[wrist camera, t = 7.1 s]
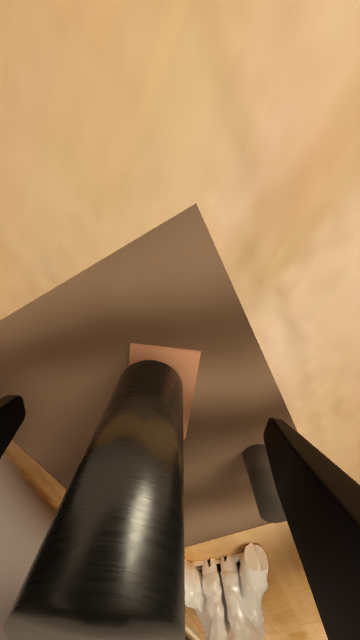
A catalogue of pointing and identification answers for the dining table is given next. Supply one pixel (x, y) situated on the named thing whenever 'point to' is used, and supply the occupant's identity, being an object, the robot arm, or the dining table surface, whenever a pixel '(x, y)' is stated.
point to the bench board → (160, 345)
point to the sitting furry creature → (229, 594)
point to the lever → (117, 526)
